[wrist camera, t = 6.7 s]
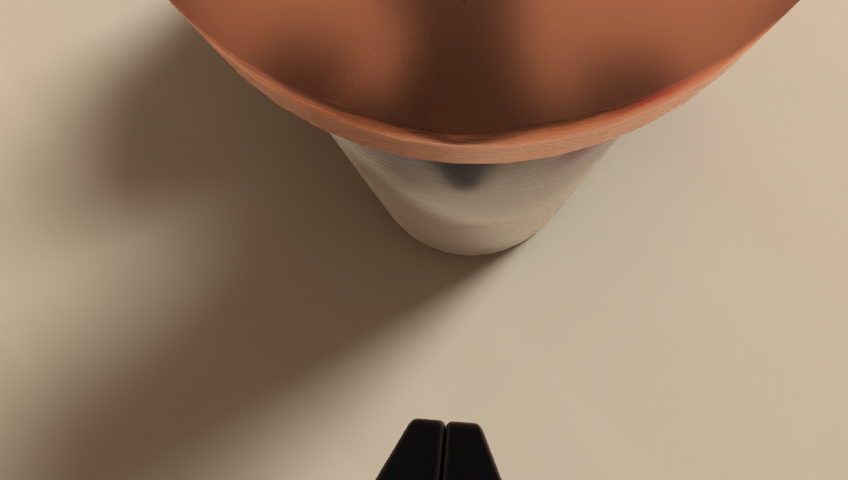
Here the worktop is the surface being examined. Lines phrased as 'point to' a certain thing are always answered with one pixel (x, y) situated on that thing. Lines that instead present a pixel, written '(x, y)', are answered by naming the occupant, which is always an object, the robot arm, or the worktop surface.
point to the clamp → (479, 91)
